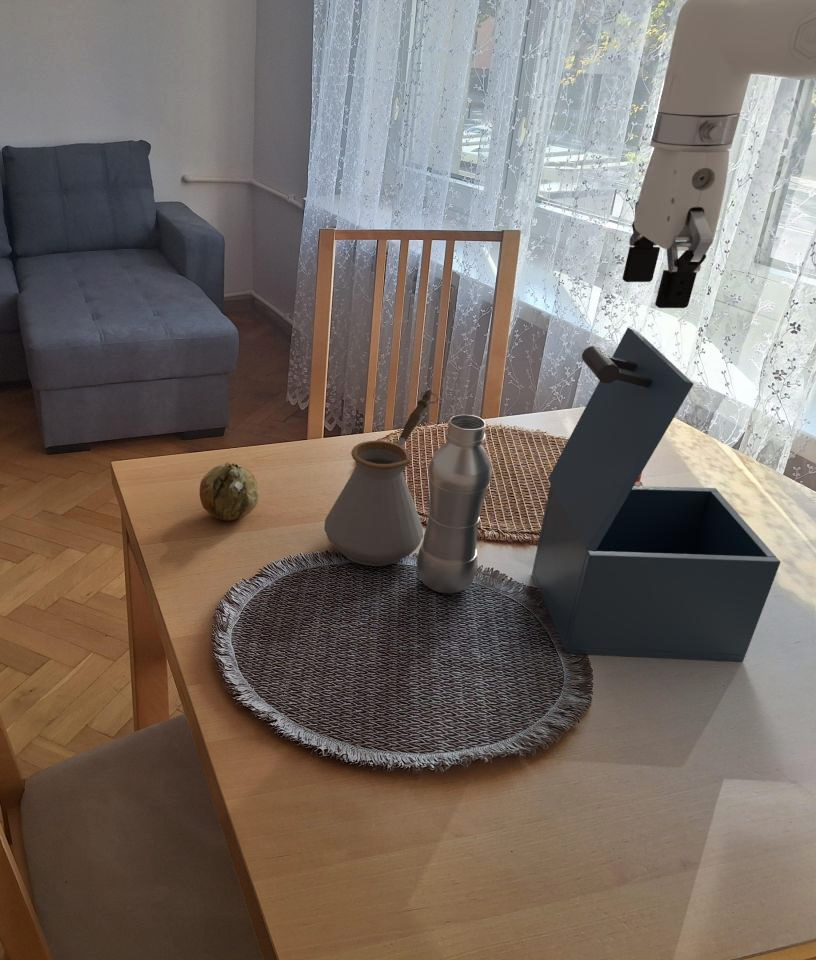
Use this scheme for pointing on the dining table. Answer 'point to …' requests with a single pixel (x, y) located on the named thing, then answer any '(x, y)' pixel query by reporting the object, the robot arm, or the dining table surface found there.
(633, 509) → the chest
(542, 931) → the dining table surface
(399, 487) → the coffee pot
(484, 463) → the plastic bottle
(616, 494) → the lid
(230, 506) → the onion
